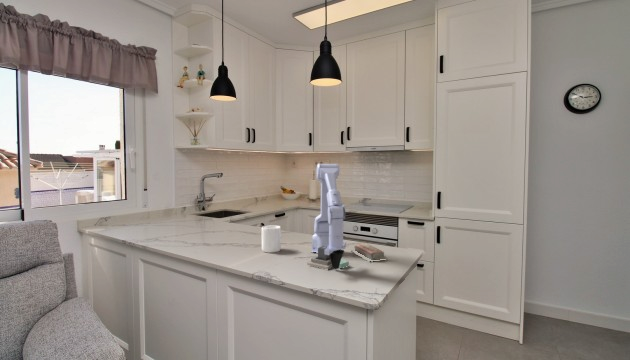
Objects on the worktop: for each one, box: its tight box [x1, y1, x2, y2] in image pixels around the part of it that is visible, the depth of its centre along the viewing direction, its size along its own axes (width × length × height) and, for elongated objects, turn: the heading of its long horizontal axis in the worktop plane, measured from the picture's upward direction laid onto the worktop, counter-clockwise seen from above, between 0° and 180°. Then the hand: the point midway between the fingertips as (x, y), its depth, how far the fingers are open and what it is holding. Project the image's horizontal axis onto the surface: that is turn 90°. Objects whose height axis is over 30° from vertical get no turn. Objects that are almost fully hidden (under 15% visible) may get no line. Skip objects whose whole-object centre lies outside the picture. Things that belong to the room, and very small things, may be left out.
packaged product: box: [354, 242, 388, 260], centre depth 144 cm, size 18×5×10 cm
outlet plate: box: [306, 255, 333, 270], centre depth 132 cm, size 10×12×3 cm
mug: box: [261, 224, 282, 254], centre depth 152 cm, size 10×12×12 cm
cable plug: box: [339, 259, 350, 268], centre depth 128 cm, size 4×6×2 cm, turn 132°
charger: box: [317, 246, 330, 261], centre depth 131 cm, size 4×4×6 cm
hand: (335, 268), depth 124 cm, fingers closed
